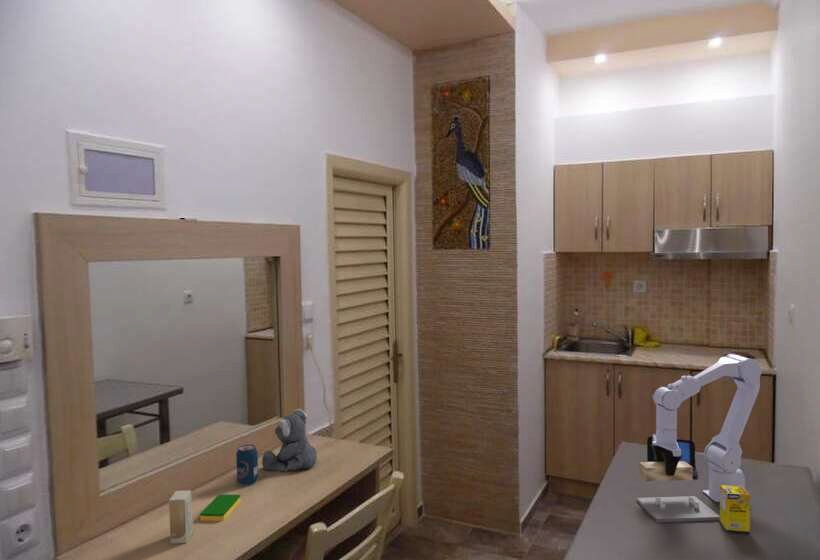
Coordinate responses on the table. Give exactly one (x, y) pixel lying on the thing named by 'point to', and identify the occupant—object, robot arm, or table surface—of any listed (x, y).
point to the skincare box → (180, 516)
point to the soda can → (247, 465)
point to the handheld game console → (686, 451)
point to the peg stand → (677, 509)
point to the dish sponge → (220, 508)
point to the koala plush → (291, 445)
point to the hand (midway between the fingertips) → (666, 471)
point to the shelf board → (658, 472)
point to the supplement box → (735, 509)
